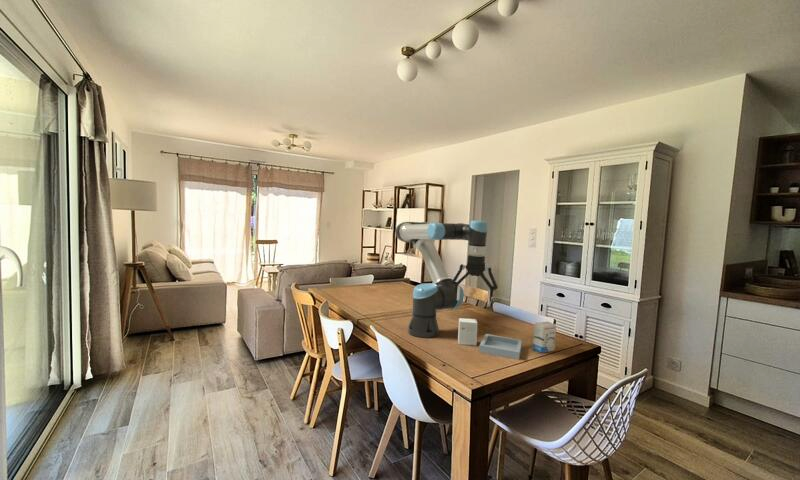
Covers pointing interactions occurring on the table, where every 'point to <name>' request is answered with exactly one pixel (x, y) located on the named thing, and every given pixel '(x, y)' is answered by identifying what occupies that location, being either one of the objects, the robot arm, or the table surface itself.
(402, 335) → the table surface
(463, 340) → the small box
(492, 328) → the table surface
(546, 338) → the ink box
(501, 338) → the tray
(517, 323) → the table surface
